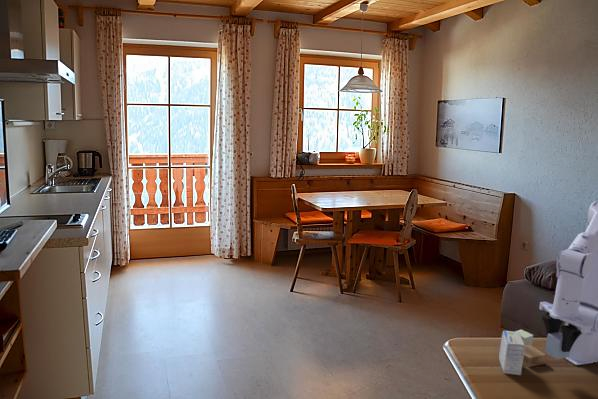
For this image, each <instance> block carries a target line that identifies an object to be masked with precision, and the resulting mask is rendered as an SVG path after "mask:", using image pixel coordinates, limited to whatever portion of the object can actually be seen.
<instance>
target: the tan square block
mask: <svg viewBox="0 0 598 399" xmlns="http://www.w3.org/2000/svg"><path fill="white" fill-rule="evenodd" d="M546 356H547V353H545V352H542V351H541V350H540V349H537V348H536V347H534V346H533V345H532V346H531V345H529V344H528V345H525V351H524V357H523V364H522V365H523V366H526V367H527V368H530V367H536V366H541V365H545V363H546V358H547V357H546Z"/></svg>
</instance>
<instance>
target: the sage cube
mask: <svg viewBox="0 0 598 399" xmlns="http://www.w3.org/2000/svg"><path fill="white" fill-rule="evenodd" d="M514 332H519V333H520V336H521V338H522V340H523V342H524V345H528V344H529V345H531V346H533V340H534V334H533V333H530V332H528V331H525V330H524V329H519V330H515V331H514Z"/></svg>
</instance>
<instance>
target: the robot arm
mask: <svg viewBox="0 0 598 399" xmlns="http://www.w3.org/2000/svg"><path fill="white" fill-rule="evenodd" d="M587 221H588V225H587V227H586V230H585V232H583V231H582V232H580V233H578V234H577V235H576V236H575V238H574V240H573V241H572V242H571V244H570V245H569V247H568V248H565V250H564V249H562V250H560V252H559V254H558V255H557V256H558V257H557V260H556V264H555V265H556V274H555V276H556V278H557V280H556V282H557V283H556V287H555V293H554V299H553V303H550V302H548V301H540V302H539V308H538V309H539V310H540V311H543V312H544V311H545V312H546V313H545V314H542V315H541V319H542V322H543V324H544V326H545V330H546V336H547V335H548V334H550V333H557V332H560V329H561V333H562V335H563V340H562V351H563V352H569V351H570V355H569V357H568V358H564V359H565V360H567V361H569V362H570V363H571V364H573V365H575V366H580V365H582V366H583V365H587V364H593V363H594V362H595V363H598V362H597V361H598V201H597V200H595V201H593V202H592V203H591V204H590V206H589V208H588V211H587ZM563 322H564V325H562V324H563ZM595 363H594V364H595Z"/></svg>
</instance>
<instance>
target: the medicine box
mask: <svg viewBox="0 0 598 399" xmlns="http://www.w3.org/2000/svg"><path fill="white" fill-rule="evenodd" d="M524 351H525V345H524V342H523V340H522V338H521V336H520V333H519V332H515V331H511V330H502V333H501V340H500V347H499V352H498V353H499V354H498V359H499V360H498V361H499V363H500V367H501V369H502V372H503V374H506V375H515V376H522V370H523V365H524V364H523V357H524Z"/></svg>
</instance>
